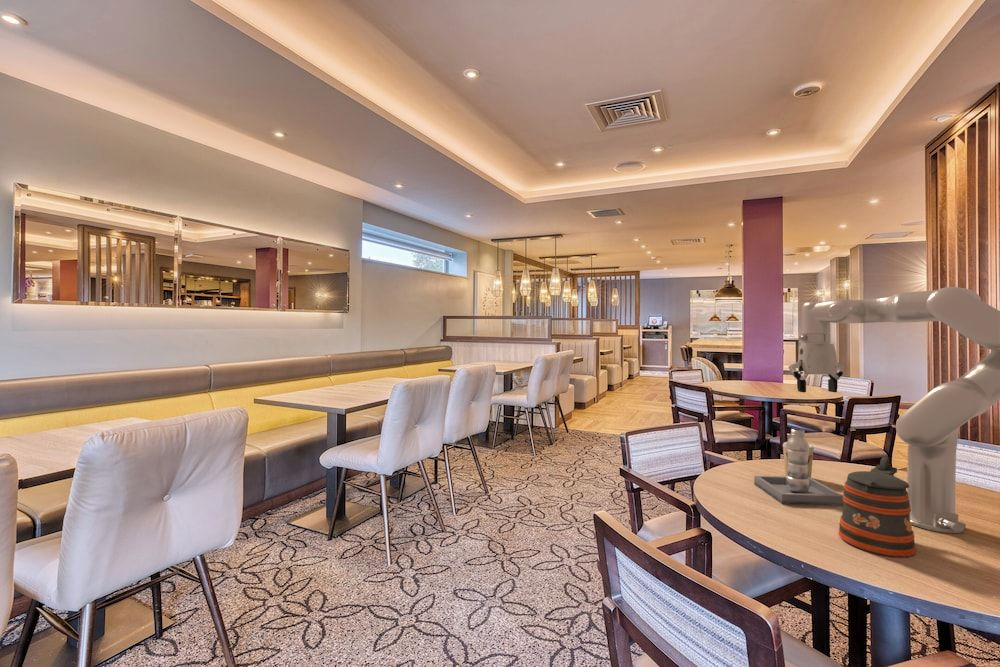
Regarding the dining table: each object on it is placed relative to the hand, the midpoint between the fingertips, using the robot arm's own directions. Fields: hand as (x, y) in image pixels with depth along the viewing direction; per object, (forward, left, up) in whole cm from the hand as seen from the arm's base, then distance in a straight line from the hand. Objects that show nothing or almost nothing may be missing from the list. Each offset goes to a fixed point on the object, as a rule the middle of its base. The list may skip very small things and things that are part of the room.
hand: (817, 391), depth 146 cm
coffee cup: (+16, -3, -33) cm, 37 cm away
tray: (-2, +7, -33) cm, 34 cm away
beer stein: (-34, +5, -33) cm, 48 cm away
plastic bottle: (-2, +7, -32) cm, 33 cm away
